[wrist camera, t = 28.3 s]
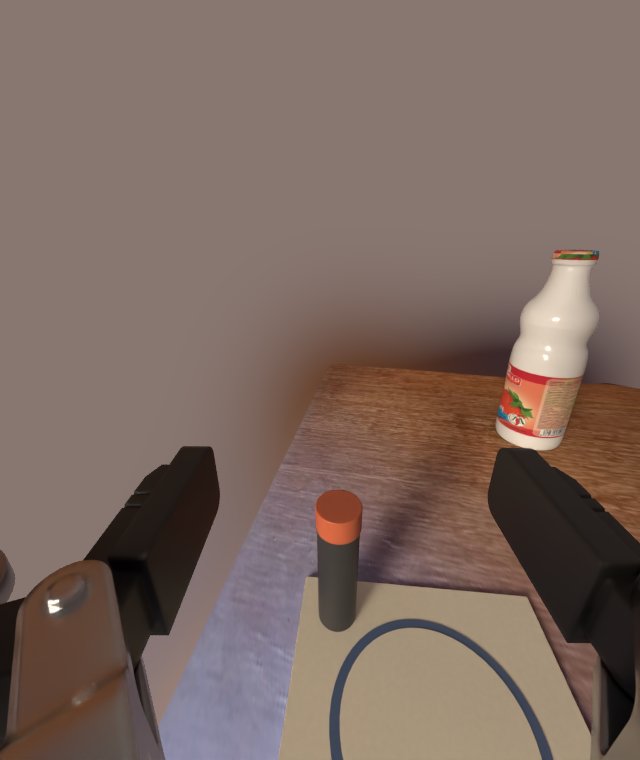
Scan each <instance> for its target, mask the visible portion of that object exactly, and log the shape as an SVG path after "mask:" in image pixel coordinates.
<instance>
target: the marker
mask: <svg viewBox="0 0 640 760" xmlns="http://www.w3.org/2000/svg"><path fill="white" fill-rule="evenodd" d="M315 512H316V530H317V550H318V610H319V618H320V621H321V622H322V624H323V625H324V626H325V627H326V628H327V629H329V630H331V631H334V632H342V631H345V630H347V629H348V628H350V627H351V625H352V624H353V622H354V620H355V616H356V598H357V578H358V559H359V539H360V532H361V527H362V503H361V501H360V500H359V498H358V497H357V496H356V495H354V494H353V493H351V492H348V491H345V490H331V491H328V492H326V493H324V494H322V495H321V496H320V497H319V498H318V500H317V502H316V506H315Z"/></svg>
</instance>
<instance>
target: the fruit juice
mask: <svg viewBox="0 0 640 760" xmlns="http://www.w3.org/2000/svg"><path fill="white" fill-rule="evenodd" d="M598 257H599V251H593V250H556V251H554V254H553V256H552V262H551V263H552V264H553V268H552V271H551V274H550V276H549V278H548V280H547V282H546V284H545V285H544V287H543V288H542V290H541V291H540V293H538V295H536V296H535V297H534V298H533V299H532V300H530V301H529V302H528V303H527V304H526V306H525V307H524V309H523V311H522V314H521V317H520V329H521V333H520V336H519V338H518V339H517V341H516V343H515V344H514V346H513V350H512V353H511V356H510V360H509V365H508V370H507V374H506V379H505V383H504V387H503V392H502V396H501V401H500V405H499V409H498V414H497V418H496V431H497V433H498V434H499V435H500V436H501V437H502V438H504V439H505V440H506V441H508V442H510V443H512V444H514V445H517V446H520V447H523V448H532V449H534V450H551V449H554V448H556V447H558V446H559V445H560V443H561V441H562V440H563V437H564V434H565V431H566V428H567V425H568V421H569V418H570V415H571V412H572V409H573V406H574V403H575V400H576V397H577V394H578V390H579V387H580V384H581V381H582V378H583V375H584V372H585V370H586V366H587V361H588V355H589V354H588V347H587V346H588V341H589V339H590V338H591V337H592V335H593V334H594V332H595V331H596V329H597V327H598V324H599V320H600V313H599V310H598V308H597V306H596V304H595V302H594V301H593V299H592V296H591V290H590V274H591V270H592V267H593V266H594V265H595V264H596V262H597V260H598Z"/></svg>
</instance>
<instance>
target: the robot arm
mask: <svg viewBox="0 0 640 760" xmlns="http://www.w3.org/2000/svg"><path fill="white" fill-rule="evenodd" d="M219 499H220V490H219V483H218V477H217V471H216V465H215V458H214V453H213V450H212V448H211V447H204V446H203V447H202V446H201V447H200V446H196V447H195V446H194V447H193V446H189V447H188V446H184V447H182V448H181V449H180V450H179V452H178V453H177V455H176V456H175V458H174V459H173V460H172V462H171V463H170V465H161V466H160V467H158V468H157V469H155V470H154V471H153V472H151V473H150V474H149V475H147V476H146V477H145V478H144V479H143V481H142V482H141V483H140V485H139V486H138V487H137V489H136V490H135V492H134V495H131V497H130V498H129V500H128V501H127V503H126V504H125V507H124V508H122V509H121V510H120V512H119V513H118V514H117V516H116V517H115V518H114V520H113V521H112V522H111V524H110V525H109V526H108V528H107V529H106V530H105V532H104V533H103V534H102V536H101V537H100V538H99V540H98V541H97V543H96V544H95V545H94V546H93V548H92V549H91V551H90V552H89V553H88V554H87V556H86V557H85V558H84V560H83V561H79V562H75V563H72V564H70V565H67V566H65V567H63V568H61V569H59V570H57V571H55V572H54V573H52V574H50V575H49V576H48V577H46V578H45V579H44V580H42V581H41V582H40V583H39V584H38V585H36V587H35V588H34V589H33V590H32V591H31V592H30V593H29V594H28V595H27V597H25V598H22V599H18V600H14V601H11V602H7V603H3V604H0V760H165V756H164V752H163V748H162V743H161V739H160V734H159V730H158V725H157V721H156V716H155V712H154V707H153V703H152V698H151V693H150V688H149V684H148V679H147V675H146V670H145V665H144V661H143V658H142V653H143V650H144V648H145V646H146V644H147V641H148V639H149V637H150V635H169V633H170V631H171V628H172V626H173V623H174V621H175V618H176V615H177V613H178V610H179V608H180V605H181V602H182V600H183V597H184V595H185V593H186V590H187V587H188V585H189V582H190V580H191V577H192V575H193V572H194V569H195V567H196V565H197V562H198V559H199V557H200V554H201V552H202V549H203V547H204V544H205V542H206V539H207V537H208V534H209V531H210V529H211V526H212V524H213V521H214V519H215V516H216V514H217V511H218V506H219ZM488 504H489V509H490V512H491V514H492V516H493V518H494V519H495V521H496V523H497V525H498V526H499V528H500V530H501V531H502V533H503V535H504V536H505V538H506V540H507V541H508V543H509V545H510V547H511V548H512V550H513V552H514V553H515V555H516V557H517V558H518V560H519V562H520V564H521V565H522V567H523V569H524V570H525V572H526V574H527V575H528V577H529V579H530V581H531V582H532V584H533V586H534V587H535V589H536V591H537V592H538V594H539V596H540V597H541V599H542V601H543V603H544V604H545V606H546V608H547V609H548V611H549V613H550V614H551V616H552V618H553V620H554V621H555V623H556V625H557V626H558V628H559V630H560V631H561V633H562V635H563V637H564V638H565V640H566V642H567V643H591V644H592V645H593V647H594V648H595V650H596V651H597V653H598V656H597V658H596V660H595V663H594V677H593V702H592V728H591V753H590V760H640V543H639V542H638V541H637V540H636V539H635V538H634V537H633V536H632V535H631V534H630V533H629V532H628V531H627V530H626V529H625V528H624V527H623V526H622V525H621V524H620V523H619V522H618V521H617V520H616V519H615V518H614V517H613V516H612V515H611V514H610V513H609V512H605V508H603V507H602V506H601V505H600V504H599V503H598V502H597V501H596V500H595V499H592V498H591V495H590V494H589V493H588V492H587V491H586V490H585V489H584V488H583V487H582V486H581V485H580V484H579V483H578V482H577V481H576V480H575V479H573V478H572V477H570V476H568V475H567V474H565V473H564V472H562V471H560V470H559V469H557V468H555V467H551V466H550V465H549V464H548V463H547V462H546V461H545V460H544V459H543V458H542V457H541V456H540V455H539V454H538V453H537V452H536V451H535V450H534V449H532V448H501V449H500V450H499V451H498V453H497V457H496V461H495V465H494V469H493V473H492V477H491V482H490V486H489V490H488Z"/></svg>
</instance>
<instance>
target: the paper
mask: <svg viewBox="0 0 640 760" xmlns="http://www.w3.org/2000/svg"><path fill="white" fill-rule="evenodd" d="M590 753H591V734H590V732H589V730H588V727H587V725H586V723H585V721H584V719H583V717H582V715H581V712H580V710H579V708H578V706H577V704H576V702H575V699H574V697H573V695H572V693H571V691H570V689H569V686H568V684H567V682H566V680H565V678H564V676H563V674H562V671H561V669H560V667H559V665H558V663H557V661H556V658H555V656H554V654H553V652H552V650H551V648H550V646H549V643H548V641H547V639H546V637H545V635H544V633H543V630H542V628H541V626H540V624H539V622H538V620H537V617H536V615H535V613H534V611H533V609H532V607H531V605H530V602H529V600H528V598H527V597H525V596H514V595H503V594H492V593H482V592H471V591H460V590H449V589H438V588H427V587H416V586H405V585H394V584H384V583H373V582H362V581H357V598H356V616H355V620H354V622H353V624H352V625H351V627H350V628H348V629H347V630H345V631H342V632H334V631H331V630H329V629H327V628H326V627H325V626H324V625H323V624H322V622H321V621H320V618H319V610H318V577H307V576H306V582H305V589H304V595H303V602H302V608H301V615H300V621H299V628H298V634H297V641H296V647H295V654H294V661H293V667H292V674H291V680H290V687H289V693H288V700H287V706H286V713H285V720H284V726H283V733H282V739H281V746H280V752H279V759H278V760H590Z"/></svg>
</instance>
